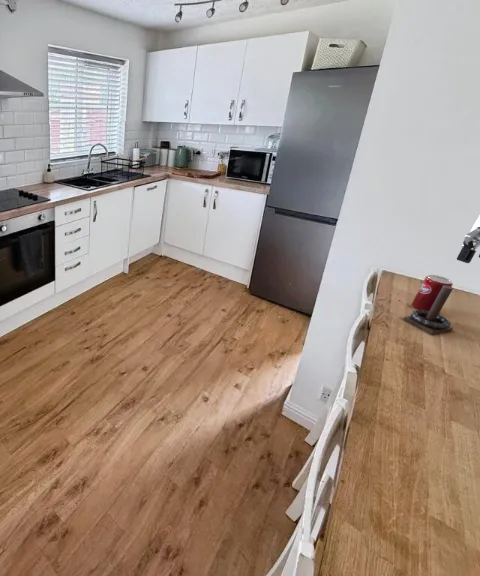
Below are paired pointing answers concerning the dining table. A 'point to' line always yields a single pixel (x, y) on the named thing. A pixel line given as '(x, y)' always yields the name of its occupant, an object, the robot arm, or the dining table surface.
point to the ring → (430, 324)
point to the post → (433, 312)
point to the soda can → (429, 292)
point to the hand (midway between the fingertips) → (473, 260)
